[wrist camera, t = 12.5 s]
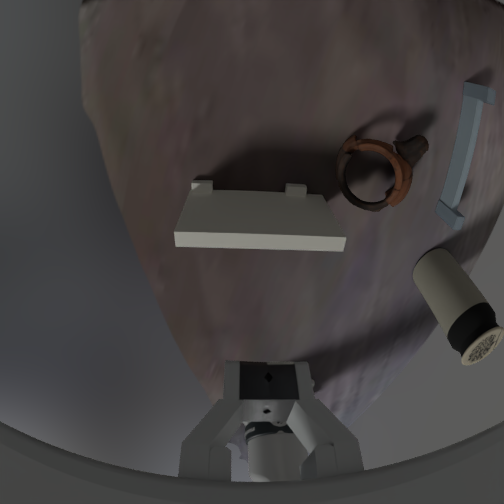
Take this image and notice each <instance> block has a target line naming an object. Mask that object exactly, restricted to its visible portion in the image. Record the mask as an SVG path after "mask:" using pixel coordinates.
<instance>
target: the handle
mask: <svg viewBox="0 0 504 504" xmlns="http://www.w3.org/2000/svg"><path fill="white" fill-rule="evenodd" d="M463 95H464V97H463V104H462V110H461V116H460V121H459V126H458V131H457V136H456V141H455V146H454V150H453V154H452V158H451V162H450V166H449V170H448V174H447V177H446V181H445V185H444V188H443V191H442V195H441V198H440V200H439V201H438V204H437V208H436V211H435V212H436V213H437V214H438V215H439V216H440V217H441V218H442V219H443V220H444V221H445V222H446V223H447V224H448V225H449V226H450V227H451V228H452V229H453V230H461V227H462V225H463V222H464V219H465V217H464V216H463V215H462V214H461V213H460V212H458V211H457V207H458V204H459V201H460V198H461V195H462V192H463V189H464V185H465V182H466V179H467V175H468V172H469V168H470V164H471V160H472V156H473V152H474V148H475V144H476V139H477V134H478V129H479V124H480V119H481V113H482V107H483V102H485V103H488V104H491V105H494V103H495V96H496V91H495V90H493V89H491V88H489V87H486V86H482V85H478V84H474V83H469V82H464V89H463Z"/></svg>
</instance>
